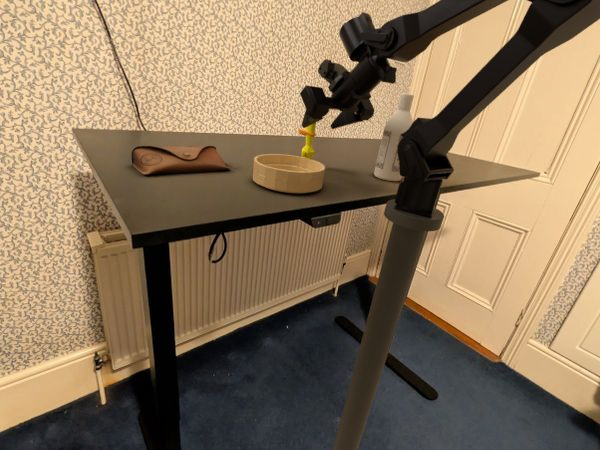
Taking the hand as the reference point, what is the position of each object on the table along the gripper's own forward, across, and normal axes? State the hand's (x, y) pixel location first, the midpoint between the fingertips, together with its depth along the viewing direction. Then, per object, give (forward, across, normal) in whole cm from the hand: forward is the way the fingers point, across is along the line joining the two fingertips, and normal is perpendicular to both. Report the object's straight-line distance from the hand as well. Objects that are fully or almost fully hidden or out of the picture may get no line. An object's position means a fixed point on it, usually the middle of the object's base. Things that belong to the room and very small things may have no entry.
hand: (317, 126), depth 77 cm
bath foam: (-1, -16, +16) cm, 22 cm away
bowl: (+1, +14, +14) cm, 20 cm away
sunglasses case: (+12, +30, +3) cm, 32 cm away
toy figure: (+10, 0, +5) cm, 11 cm away
